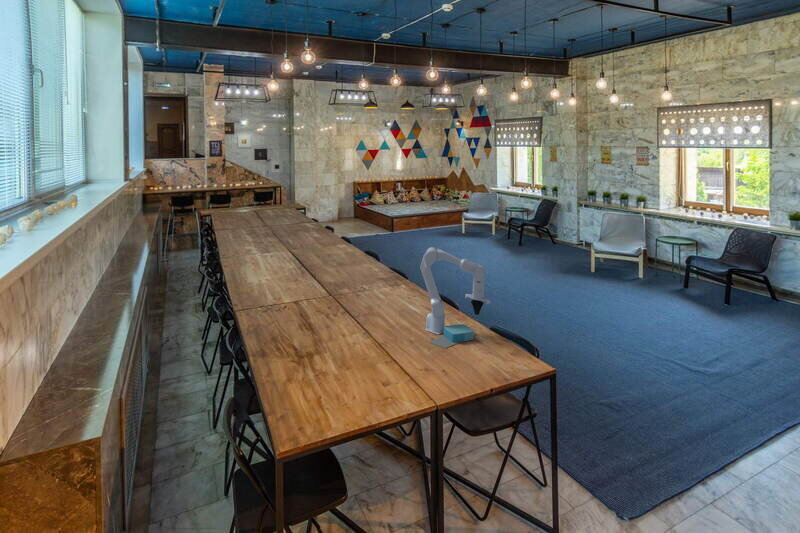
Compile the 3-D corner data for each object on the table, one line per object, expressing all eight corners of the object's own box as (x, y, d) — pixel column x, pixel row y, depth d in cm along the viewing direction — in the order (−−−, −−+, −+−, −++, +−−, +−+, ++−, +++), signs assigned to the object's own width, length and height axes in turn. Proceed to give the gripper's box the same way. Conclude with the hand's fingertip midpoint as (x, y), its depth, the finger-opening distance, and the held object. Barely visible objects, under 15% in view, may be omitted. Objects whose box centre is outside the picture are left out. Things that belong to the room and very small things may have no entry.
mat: (428, 342, 246) (428, 341, 246) (458, 330, 263) (458, 329, 263) (445, 348, 239) (445, 347, 239) (475, 335, 255) (475, 335, 255)
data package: (474, 339, 249) (463, 331, 260) (475, 331, 248) (463, 323, 259) (453, 343, 245) (442, 334, 256) (453, 334, 244) (442, 326, 255)
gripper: (494, 290, 251) (493, 315, 254) (471, 284, 261) (470, 309, 264) (486, 292, 246) (485, 318, 249) (463, 287, 256) (462, 312, 259)
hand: (477, 314), depth 256 cm, fingers closed
